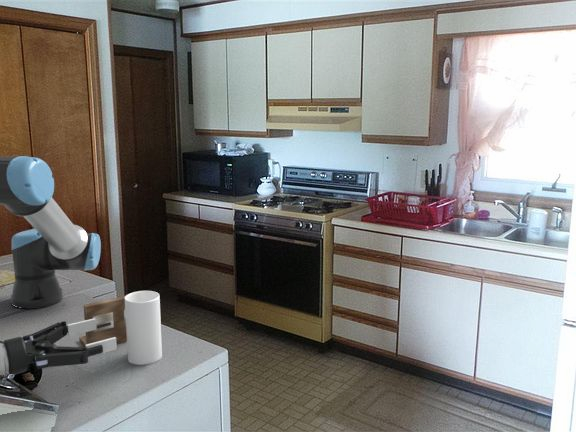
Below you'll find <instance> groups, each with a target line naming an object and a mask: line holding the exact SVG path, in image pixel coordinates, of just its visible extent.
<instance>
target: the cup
mask: <svg viewBox="0 0 576 432" xmlns="http://www.w3.org/2000/svg"><path fill="white" fill-rule="evenodd" d="M124 296H125V315H126V333H127V341H126V344H127V345H126V348H127V361H128V363H130V364H133V365H137V364H138V365H137V366H146V365H151V364H154V363H157V362H158V361H160V360H161V359H162V357H163V346H162V343H163V342H162V323H161V303H160V302H161V299H160V293H158V292H156V291H152V290H138V291H133V292H131V293H128V294H126V295H124ZM145 364H146V365H145Z"/></svg>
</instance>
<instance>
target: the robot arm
mask: <svg viewBox="0 0 576 432" xmlns="http://www.w3.org/2000/svg"><path fill="white" fill-rule="evenodd" d="M54 191H55V179H54V177H53V172H52V170H51V168H50V166H49V165H48V164H47V163H46V162H45V161H44V160H42V159H41V158H39V157H33V156H32V157H31V156H27V155H26V156H25V155H21V156H0V206H4V207H5V208H6V209H7V210H8V211H9V212H10V213H11V214H13V215H15V216H18V217H23V218H24V219H25V220H26V221H27V222H28V223H29V224H30V225H31V227H32V229H27V230H23V231H21V232H17V233H15V234H14V235H13V236H12V237H11V254H12V264H13V265H12V266H13V273H14V283H13V287H12V293H11V295H10V304H11V303H12V304H13V305H15V306H17V307H21V308H27V309H26V310H28V309H29V310H31V309H39V308H44V307H49V306H53V305H54V304H55V305H56V304H58V303H60V302H61V301H62V300H63V298H64V292H63V291H64V290H63V289H62V287H61V285H60V283H59V281H58V277H57V276H56V275H57V274H56V271H84V272H86V271H93V270H95V269H97V266H98V265H99V262H100V258H101V253H102V252H101V249H102V242H101V238H100V235H99V234H98V233H94V232H91V233H87V232H86V230H85V229H84V228H83V227H82V226H79V225H77V224H74V223H73V222H72V221H71V219H69V216H67V214H66V213H65V212H64V210H62V208H61V207H60V206H59V204H58V203H57V202H56V200H54V198H53V195H54ZM93 330H97V328H96V319H95V318H94V319H89V320H85V319H84V320H82V321H78V322H73V323H69V324H67V321H66V320H64V321H61V322H56V323H53V324H51V325H50V326H47V327H44V328H43V329H40V330H38V331H36V332H34V333H31V334H28V335H27V334H26V335H23V336H22V337H21V336H17V337H13V338H9V339H5V340H3V341H2V343H1V342H0V375H5V374H6V373H7V372H9V374H14V375H13V376H15V375H18V374H22V373H25V372H27V371H28V370H29V365H31V364H36V369H37V370H42V369H45V368H52V367H65V366H74V365H76V366H77V365H85V364H88V363H89V358H90V357H94V356H98V355H101V354H104V353H108V352H112V351H116V350H118V348H117V347H118V346H117V345H118V344H117V343H116V337H113V338H109V339H106V340H102V341H98V342H94V343H90V344H86V347H85V346H58V345H57V344H56V343H57V342H58V341H60V340H62V339H63V338H64V337H66V336H68V337H73V336H77V335H80V334H81V335H82V334H84V333H85V334H86V332H89V331H93ZM6 375H7V374H6Z"/></svg>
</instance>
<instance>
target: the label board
mask: <svg viewBox="0 0 576 432" xmlns="http://www.w3.org/2000/svg"><path fill="white" fill-rule="evenodd" d="M125 296H126V295H123V296H118V297H113V298H109V299H105V300H104V299H103V300H100V301H95V302H91V303H86V304H83V316H84V321H85V320H89V319H94V318H95V319H96V328H97V330H93V331H89V332H85V335H82V336H79V337H78V338H79V342H80V343H81V345H83V347H86V344H90V343H94V342H98V341H102V340H106V339H109V338H113V337H116V343H117V345H118V344H123V343H127V333H126V315H125Z"/></svg>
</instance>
